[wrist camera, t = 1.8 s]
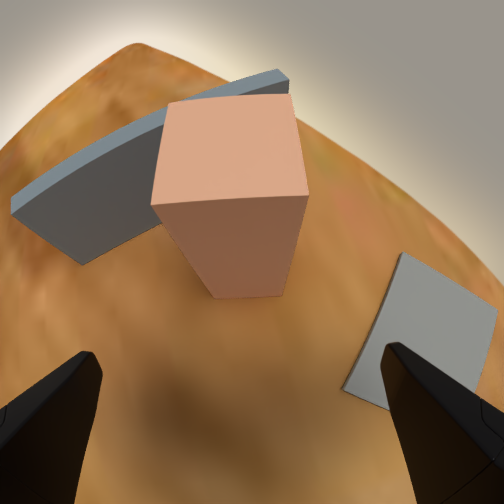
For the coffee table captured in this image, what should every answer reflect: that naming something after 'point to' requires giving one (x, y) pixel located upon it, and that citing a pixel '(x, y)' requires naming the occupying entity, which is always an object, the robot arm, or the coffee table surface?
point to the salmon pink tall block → (233, 190)
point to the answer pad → (425, 329)
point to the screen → (112, 182)
